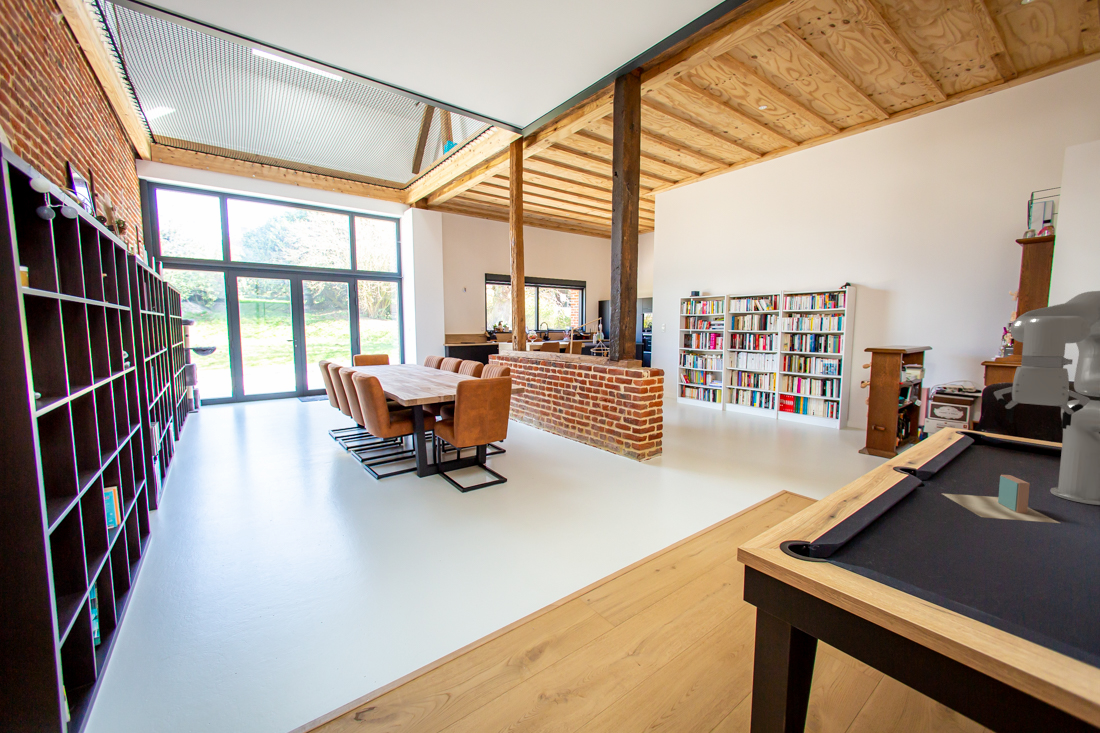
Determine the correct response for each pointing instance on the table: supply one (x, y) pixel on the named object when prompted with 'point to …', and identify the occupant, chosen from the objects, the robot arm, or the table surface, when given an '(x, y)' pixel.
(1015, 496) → the tile
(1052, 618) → the table surface
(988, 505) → the board
